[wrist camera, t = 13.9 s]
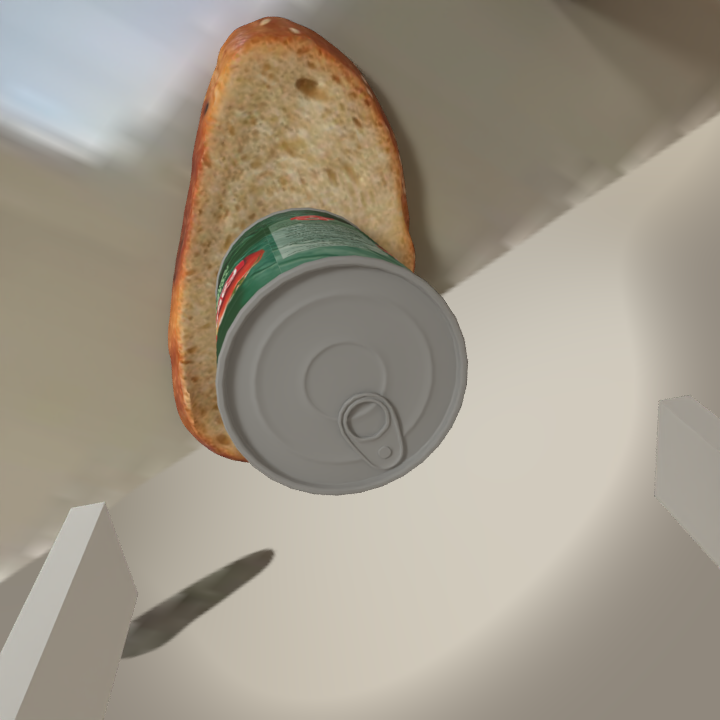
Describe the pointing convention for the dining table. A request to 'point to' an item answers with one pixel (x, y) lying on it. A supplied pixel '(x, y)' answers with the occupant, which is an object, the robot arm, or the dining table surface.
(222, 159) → the bread slice
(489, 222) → the dining table surface
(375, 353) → the canned tomato
